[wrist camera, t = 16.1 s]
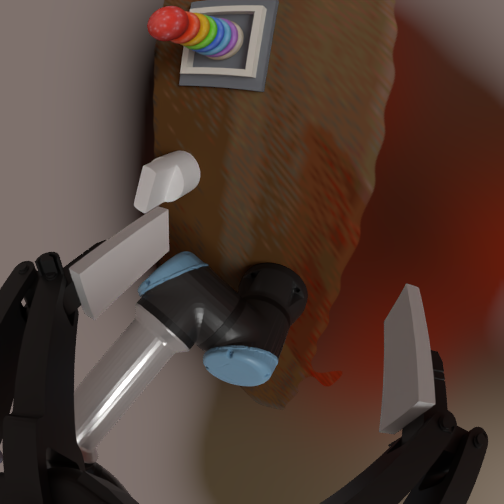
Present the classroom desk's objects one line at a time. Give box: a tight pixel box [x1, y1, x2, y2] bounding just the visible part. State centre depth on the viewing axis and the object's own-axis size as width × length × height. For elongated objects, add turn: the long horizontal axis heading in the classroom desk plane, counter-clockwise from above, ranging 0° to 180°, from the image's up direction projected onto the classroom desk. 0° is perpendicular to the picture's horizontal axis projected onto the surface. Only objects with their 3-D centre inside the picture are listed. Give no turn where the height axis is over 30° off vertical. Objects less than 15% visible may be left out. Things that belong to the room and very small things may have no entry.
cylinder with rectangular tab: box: [134, 151, 200, 213], centre depth 48 cm, size 9×9×12 cm
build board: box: [179, 0, 279, 92], centre depth 35 cm, size 18×16×4 cm
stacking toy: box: [147, 6, 244, 60], centre depth 28 cm, size 8×8×19 cm
